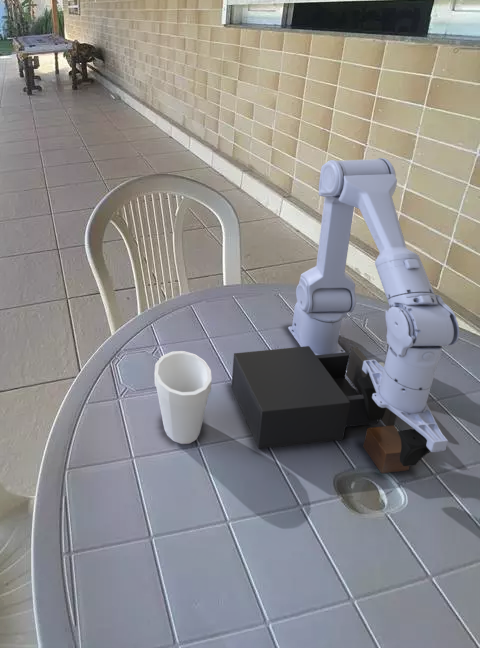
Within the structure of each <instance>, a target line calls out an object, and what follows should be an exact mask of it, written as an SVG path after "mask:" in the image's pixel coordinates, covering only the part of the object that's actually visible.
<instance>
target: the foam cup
mask: <svg viewBox="0 0 480 648" xmlns="http://www.w3.org/2000/svg"><path fill="white" fill-rule="evenodd" d="M154 386H155V388H156V392H157V398H158V403H159V404H158V405H159V408H160V414H161V419H162V424H163V429H164V431H165V434H166V435H167V437H168V438H169V439H170V440H171V441H173V442H175V443H178V444H180V445H188V444H189V445H190V444H191V443H193V442H195V441H196V440H197V439H198V437H199V436H200V434H201V431H202V426H203V421H204V417H205V413H206V408H207V405H208V400H209V395H210V394H211V391H212V369H211V368H210V366H209V365H208V363H207V362H206V360H204V359H203V358H201V357H200V356H199V355H197V354H195V353H192V352H189V351H184V350H180V351H179V350H175V351H170V352H168V353H165V354H163V355H161V356H160V357H159V359H158V360H157V361H156V362H155V364H154Z"/></svg>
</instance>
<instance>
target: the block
mask: <svg viewBox="0 0 480 648" xmlns="http://www.w3.org/2000/svg"><path fill="white" fill-rule="evenodd" d="M398 431H399V430H398V429H397V428H396V426H395V424H394V425H391V426H385V425H383V426H374V427H367V429H366V432H365V437H364V441H363V445H362V447H363V449H364V451H365V452H366V453H367V455H368V456H369V458H370V459H371V461H372V462H373V463H374V465H375V466H376V468H377V469H378V471H379V472H380V474H386V473H387V474H389V473H396V472H405V471H409V469H410V466H403V465H402V464H401V462H400V453H401V439H400V435H399V433H398Z"/></svg>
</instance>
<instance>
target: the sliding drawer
mask: <svg viewBox="0 0 480 648" xmlns="http://www.w3.org/2000/svg"><path fill="white" fill-rule="evenodd" d="M316 356H317V358H318V359H319V360H320V362H321V363H322V364H323V366H324V367H325V369H326V370H327V371H328V373H329V374H330V375H331V377H332V378H333V379H334V381H335V382H336V384H337V385H338V386H339V388H340V389H341V390H342V392H343V393H344V395H345V396H346V397H347V399H348V400H349V401H350V407H349V412H348V417H347V421H346V426H345V428H348V427H358V426H368V425H375V424H378V421H379V420H374V421H369V420H368V418H367V414H366V407H365V401H364V397H363V393H362V391H361V388H360V386H359V384H358V379H359V378H361V377H365V376H367V374H366V373H365V372H364V371H363V370H362V367H363V362H364V361H365V360H369V359H368V358H367V357H366V355H365V354H364V353H363V352H362V350H360V348H359V347H351V348H350V353H348V352H347V351H345V352H343V353H333V354H323V355H316ZM378 363H379V364H380V365H381V366H383V367H384V365H385V361H380V362H378ZM346 377H347V379H348V380H349V381H350V382H351V383H352V385H353V386H354V387H355V388H356V390H357V391H356V390H355V389H354V388H353V386H352V385H351V384H350V382H349V381H348V380H347V379H346ZM357 392H358V393H359V394H358V393H357ZM397 417H398V416H397V415H396V414H394V413H393V412H392V411H391V410H389V409H388V408H386V411H385V414H384V416H383V418H382V419H381V420H380V421H381V422H382V423H383V424H384V425H383V426H391V425H394V426H395V424H396V420H397Z"/></svg>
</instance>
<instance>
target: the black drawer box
mask: <svg viewBox="0 0 480 648" xmlns="http://www.w3.org/2000/svg"><path fill="white" fill-rule="evenodd" d="M232 359H233V362H232V372H231V373H232V374H231V386H230V387H231V390H232V392H233V395H234V396H235V398H236V401H237V403H238V406H239V407H240V410H241V412H242V414H243V417H244V420H245V421H246V424H247V426H248V428H249V430H250V431H249V432H250V433H251V435H252V437H253V439H254V442H255V444H256V446H257V449H269V448H277V447H278V448H279V447H286V446H287V447H288V446H295V445H296V446H297V445H305V444H314V443H315V444H316V443H324V442H334V441H341V440H344V435H345V432H346V431H345V430H346V427H345V426H346V421H347V417H348V412H349V407H350V401H349V400H348V399H347V397H346V396H345V395H344V393H343V392H342V390H341V389H340V388H339V386H338V385H337V384H336V382H335V381H334V379H333V378H332V377H331V375H330V374H329V373H328V371H327V370H326V369H325V367H324V366H323V364H322V363H321V362H320V360H319V359H318V358H317V356H316V355H315V354H314V352H313V351H312V349H311V348H310V347H309V346H304V347H301V346H295V347H294V346H293V347H286V348H285V347H284V348H276V349H266V350H265V349H264V350H255V351H245V352H235V353H233V358H232Z"/></svg>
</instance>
